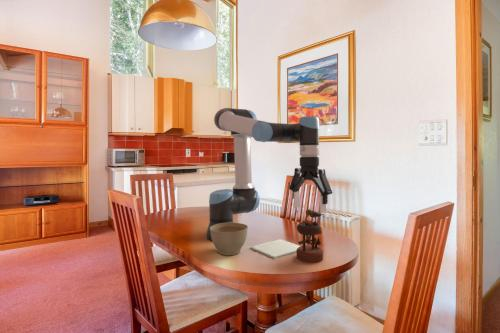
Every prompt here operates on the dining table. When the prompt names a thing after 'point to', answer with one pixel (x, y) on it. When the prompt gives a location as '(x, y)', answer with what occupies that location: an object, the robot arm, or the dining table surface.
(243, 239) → the planter bowl
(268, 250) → the board
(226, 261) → the dining table surface
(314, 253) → the music box
